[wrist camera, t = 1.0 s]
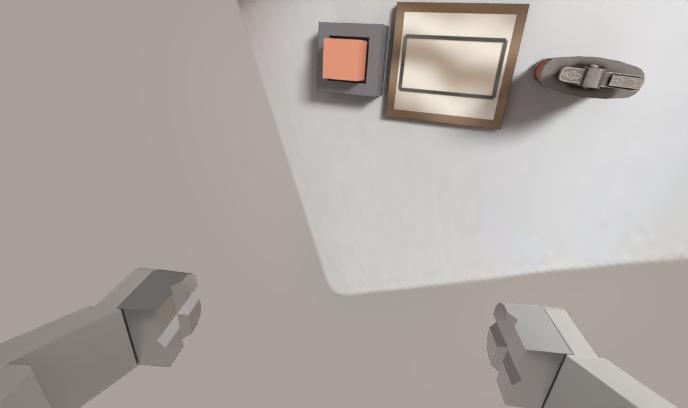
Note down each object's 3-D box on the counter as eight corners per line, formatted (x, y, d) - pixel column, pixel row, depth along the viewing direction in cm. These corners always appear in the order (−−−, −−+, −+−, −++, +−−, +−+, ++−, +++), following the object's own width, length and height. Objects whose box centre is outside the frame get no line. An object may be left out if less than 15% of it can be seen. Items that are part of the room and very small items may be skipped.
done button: (333, 39, 43) (323, 37, 41) (367, 41, 42) (359, 39, 39) (332, 77, 45) (322, 78, 42) (364, 80, 44) (356, 81, 41)
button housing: (328, 24, 45) (318, 22, 43) (388, 26, 43) (382, 24, 40) (326, 89, 48) (316, 90, 46) (382, 94, 46) (375, 96, 43)
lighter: (528, 85, 40) (539, 92, 31) (538, 53, 38) (553, 50, 30) (608, 96, 38) (645, 107, 29) (623, 63, 36) (665, 63, 27)
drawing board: (399, 3, 41) (396, 1, 40) (528, 5, 37) (529, 3, 36) (387, 115, 47) (385, 116, 46) (500, 128, 42) (500, 129, 41)
